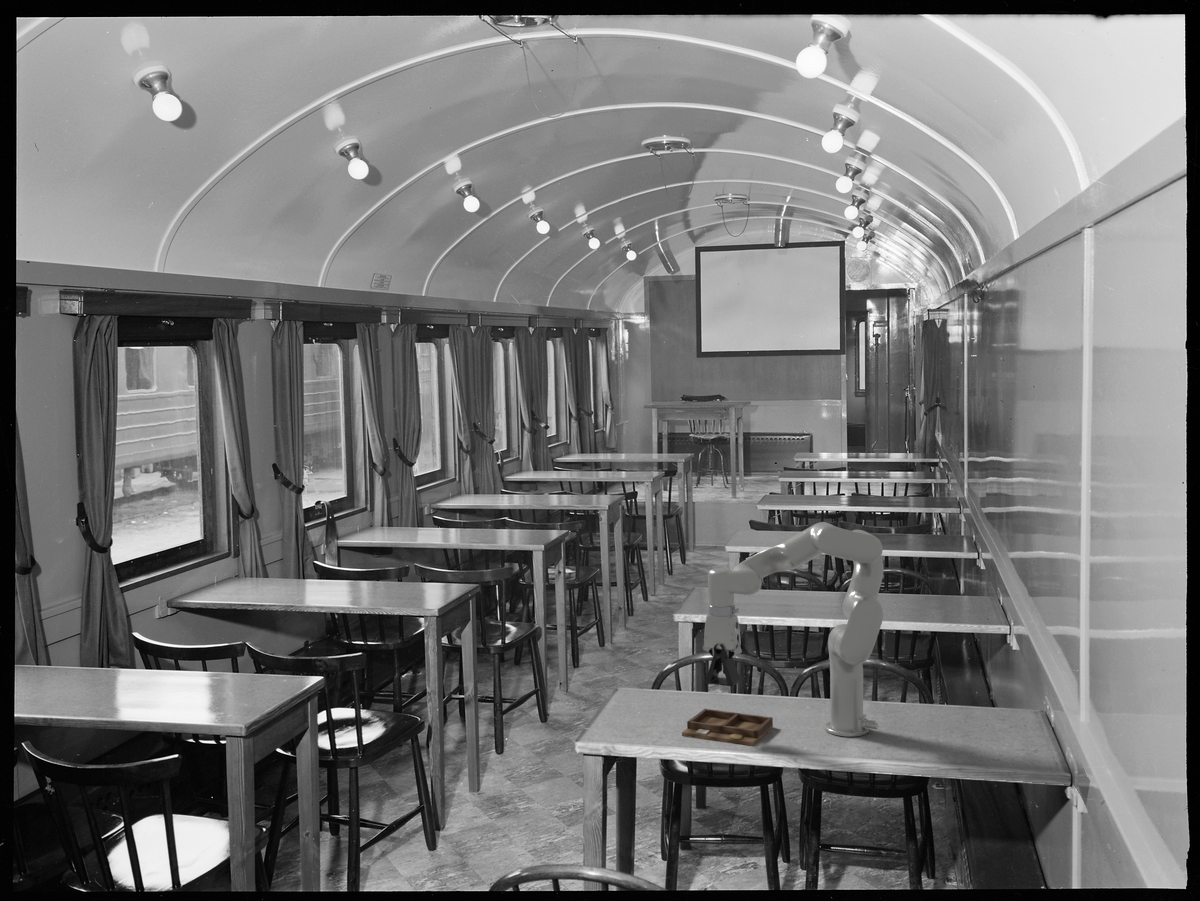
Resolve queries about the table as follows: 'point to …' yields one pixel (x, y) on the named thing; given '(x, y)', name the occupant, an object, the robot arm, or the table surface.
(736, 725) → the bay board
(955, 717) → the table surface
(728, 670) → the phone stand
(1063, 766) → the table surface
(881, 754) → the table surface
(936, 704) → the table surface
